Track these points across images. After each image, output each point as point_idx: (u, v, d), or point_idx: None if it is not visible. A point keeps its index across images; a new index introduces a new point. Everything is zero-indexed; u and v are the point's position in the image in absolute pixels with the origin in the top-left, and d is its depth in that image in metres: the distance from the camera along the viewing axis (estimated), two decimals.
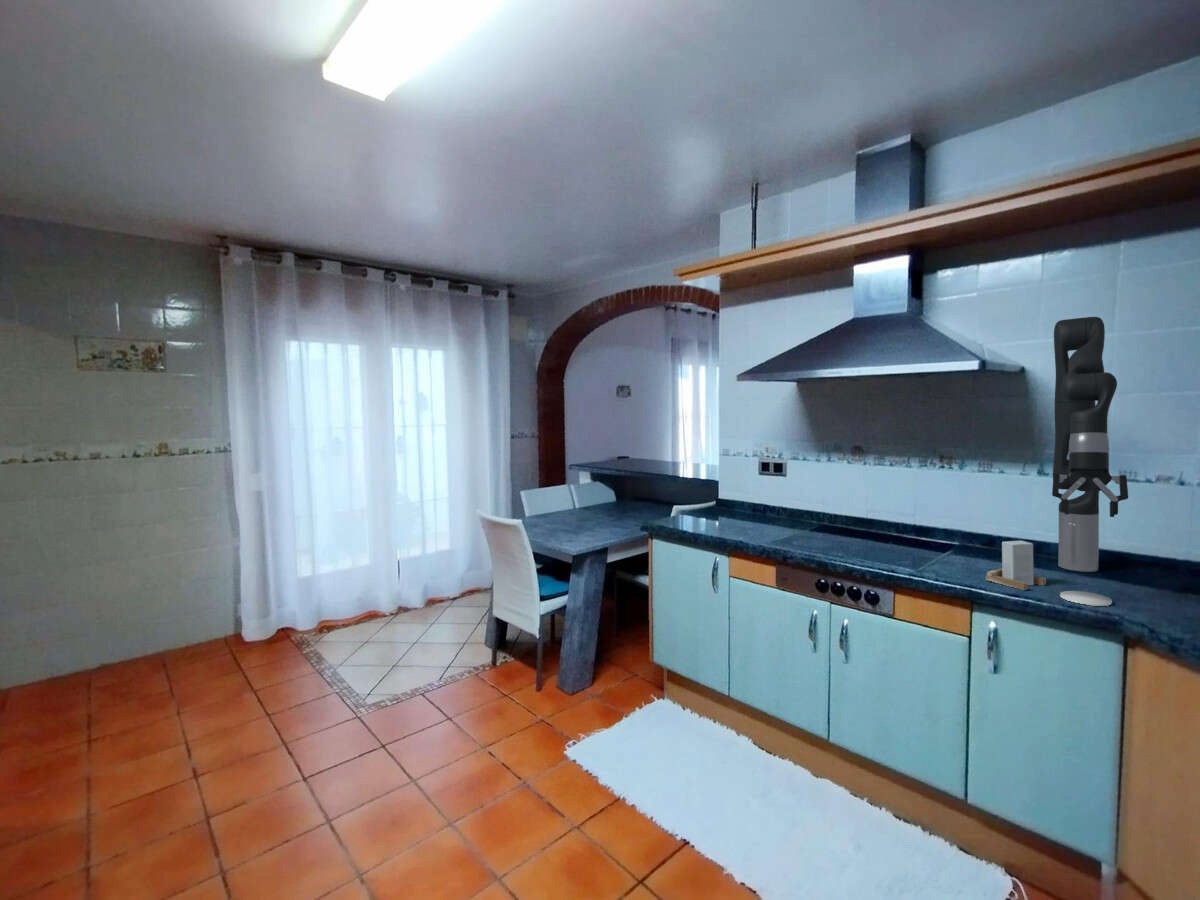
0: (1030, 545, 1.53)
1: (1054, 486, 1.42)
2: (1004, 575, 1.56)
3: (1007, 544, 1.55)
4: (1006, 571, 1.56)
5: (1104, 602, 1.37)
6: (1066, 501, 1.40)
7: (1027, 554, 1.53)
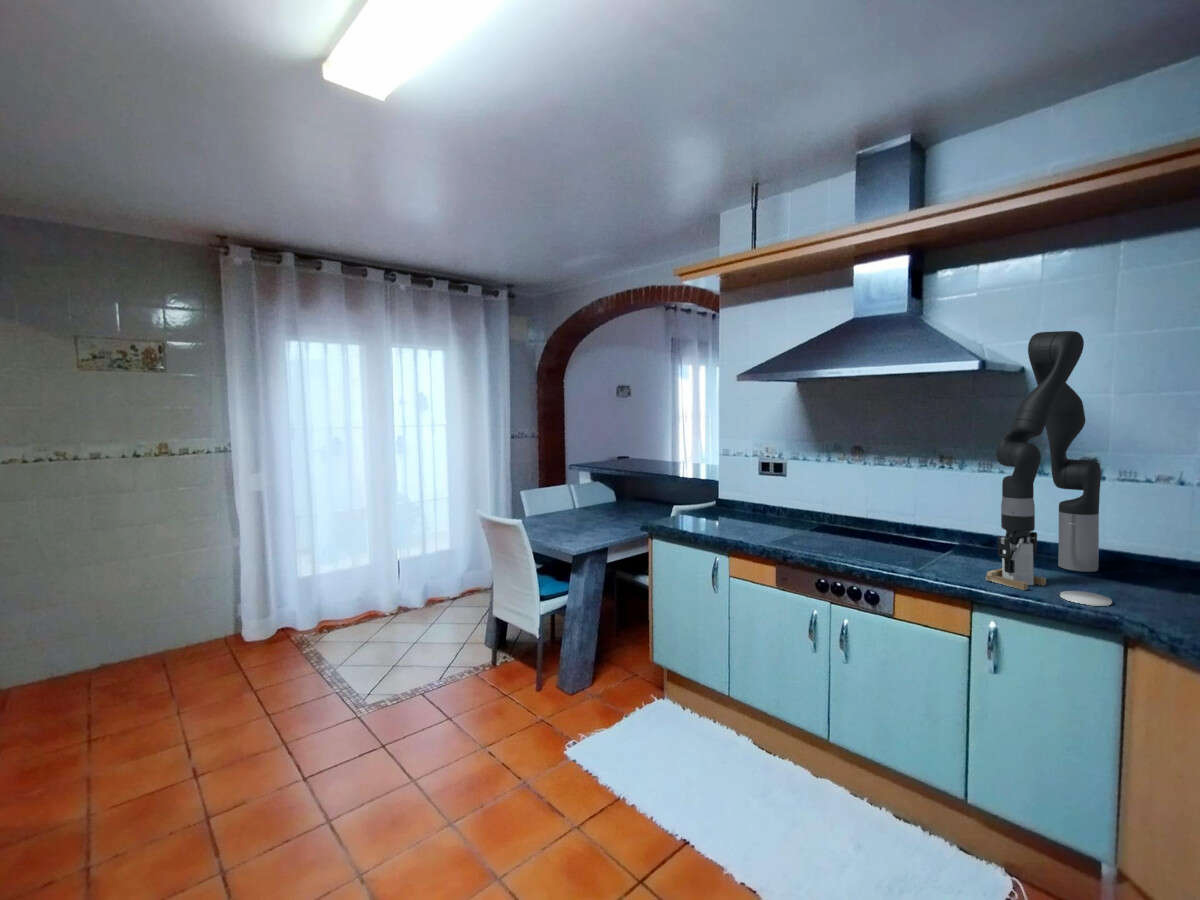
0: (1030, 545, 1.53)
1: None
2: (1004, 575, 1.56)
3: None
4: None
5: (1104, 602, 1.37)
6: None
7: (1027, 554, 1.53)
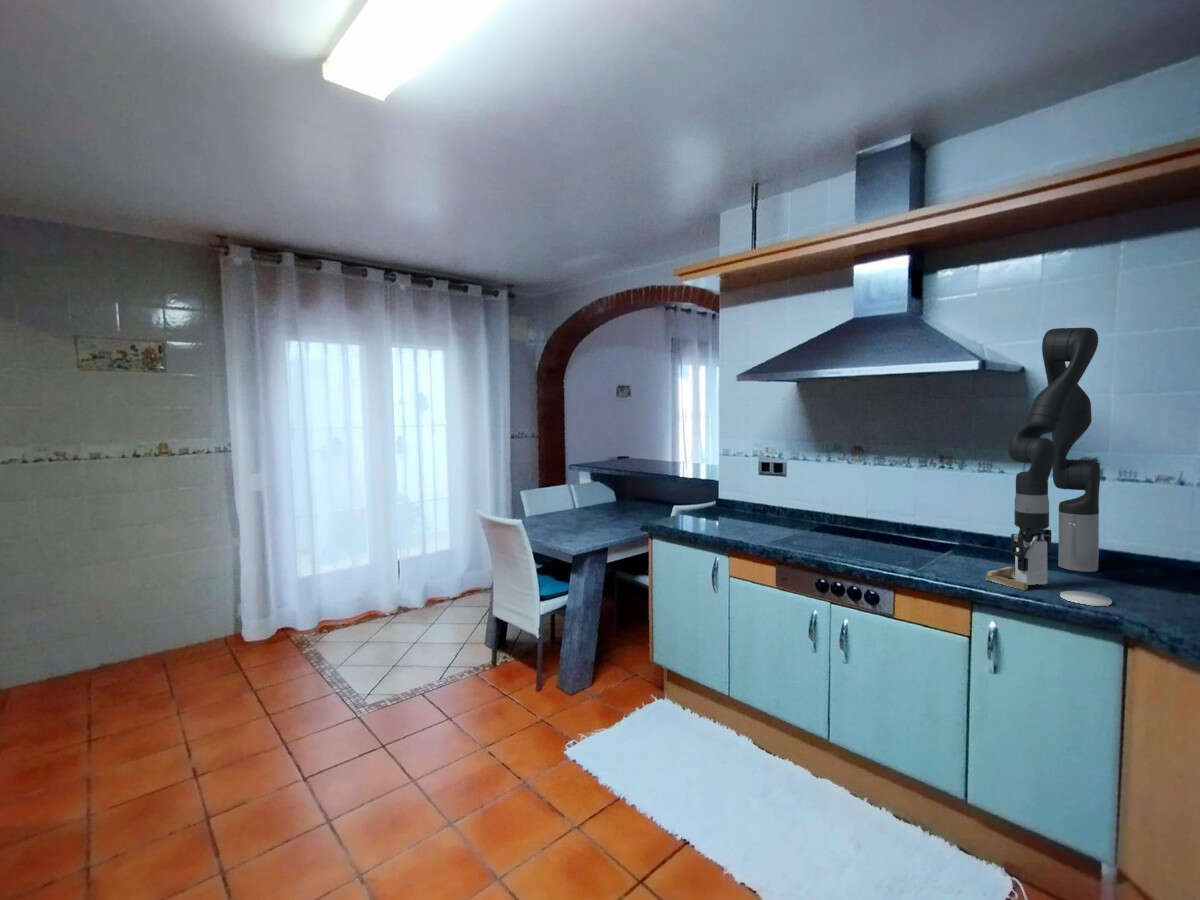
0: (1044, 543, 1.50)
1: None
2: (1017, 573, 1.53)
3: None
4: None
5: (1104, 602, 1.37)
6: None
7: (1041, 552, 1.50)
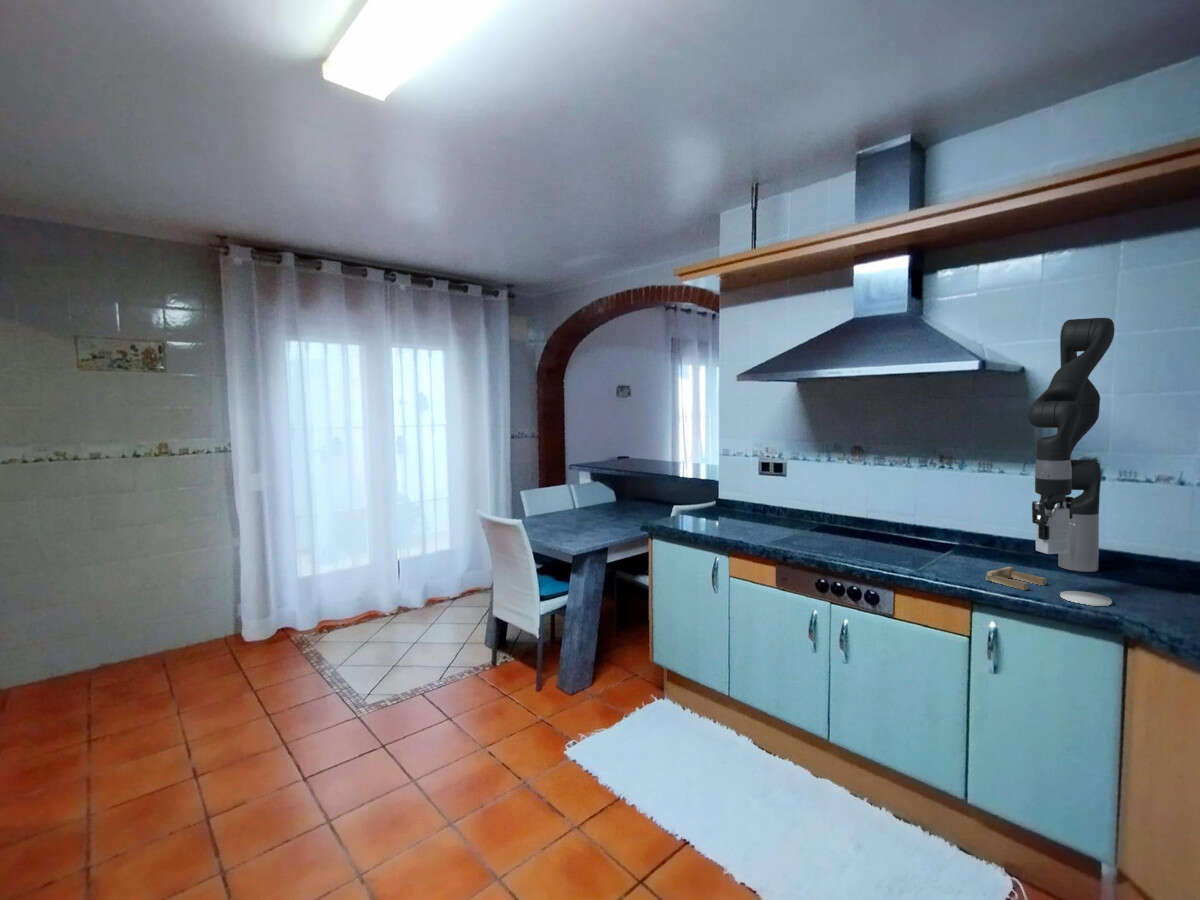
0: (1066, 510, 1.44)
1: None
2: (1038, 542, 1.48)
3: None
4: None
5: (1104, 602, 1.37)
6: None
7: (1063, 519, 1.45)
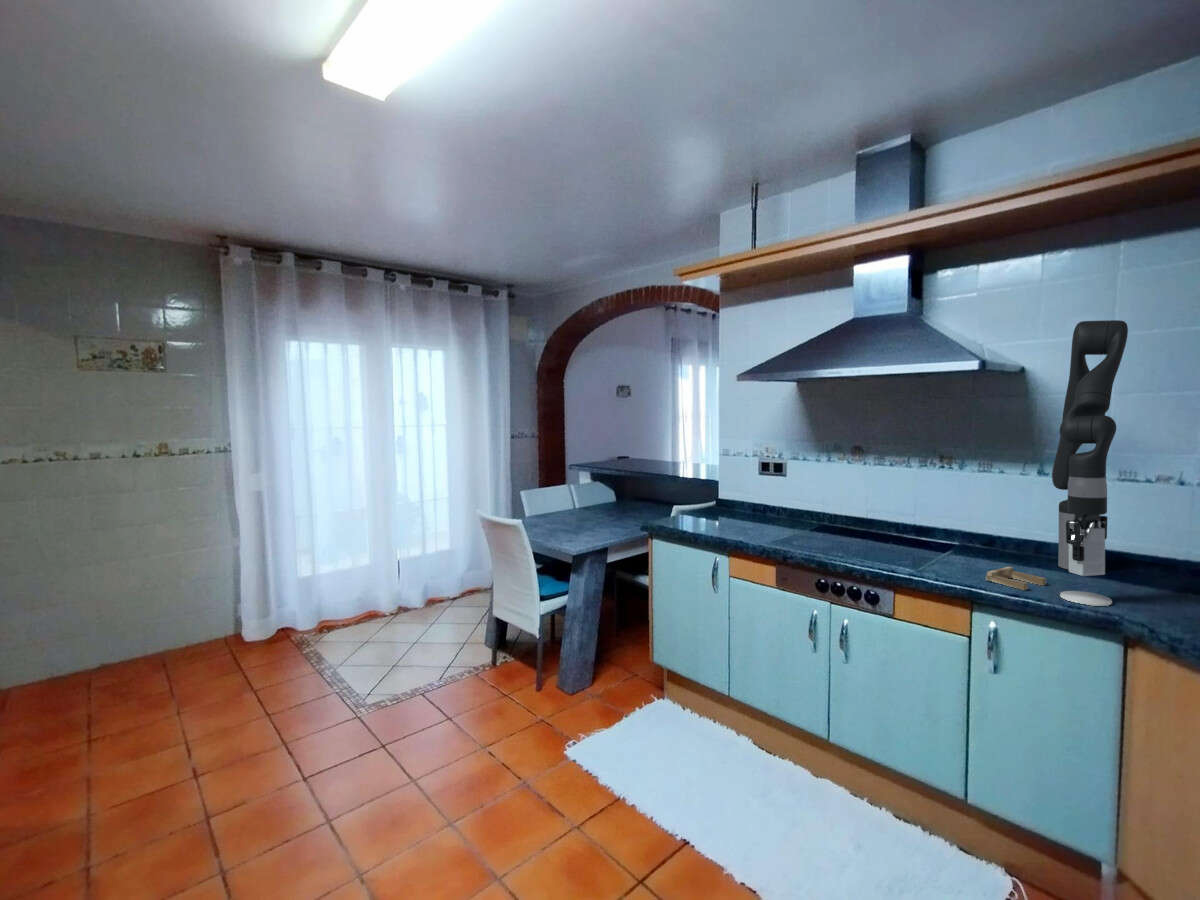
0: (1102, 530, 1.38)
1: None
2: (1071, 564, 1.41)
3: None
4: None
5: (1104, 602, 1.37)
6: None
7: (1098, 540, 1.38)
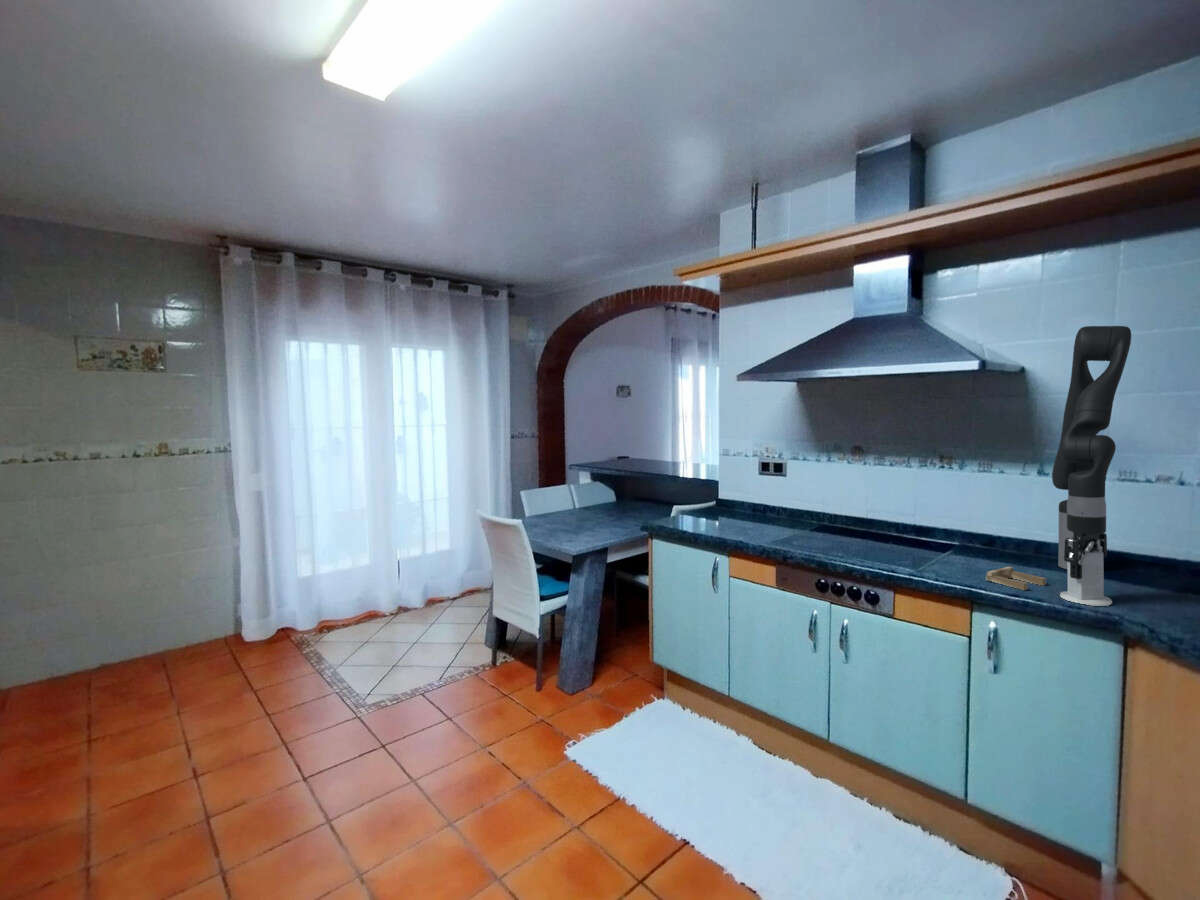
0: (1100, 554, 1.38)
1: None
2: (1070, 587, 1.42)
3: None
4: (1073, 583, 1.41)
5: (1104, 602, 1.37)
6: None
7: (1097, 564, 1.39)
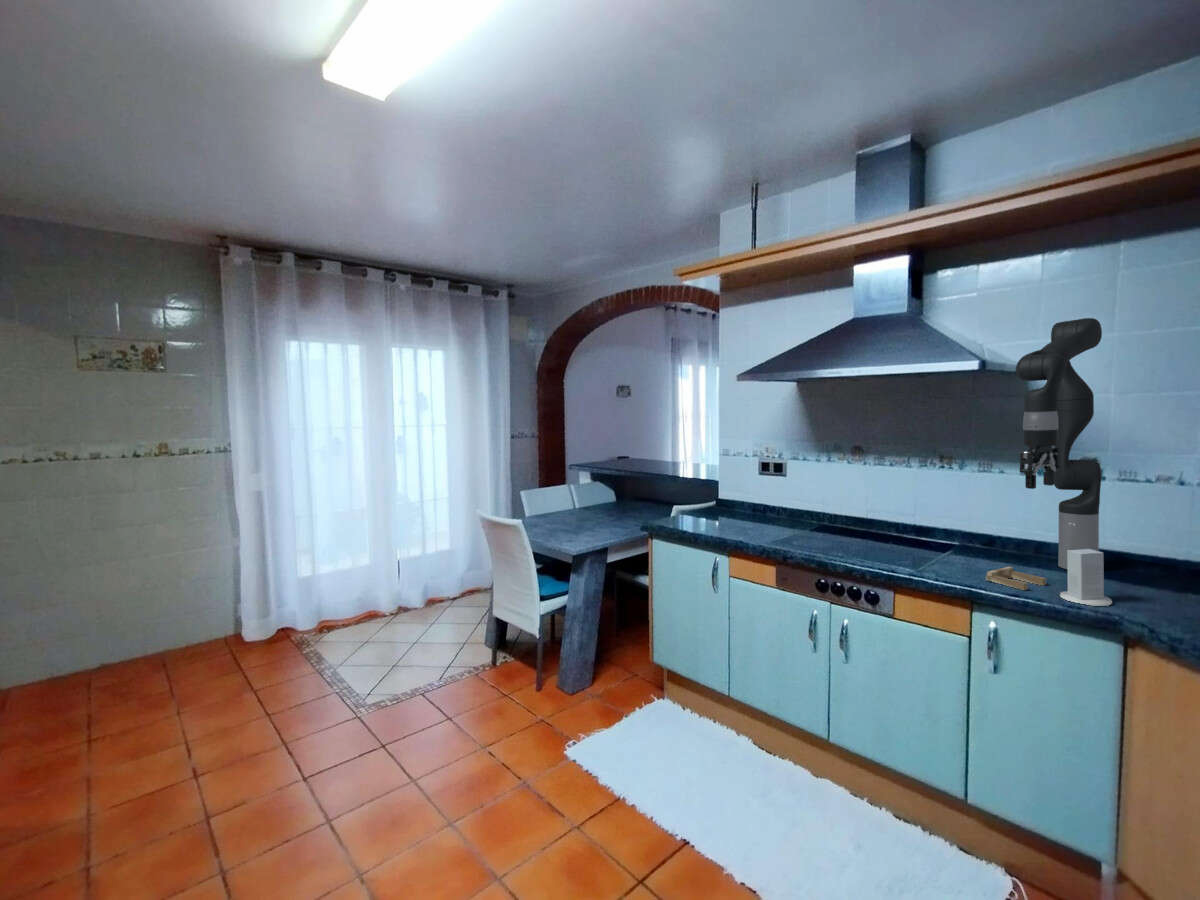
0: (1100, 554, 1.38)
1: None
2: (1070, 587, 1.42)
3: (1074, 553, 1.40)
4: (1073, 583, 1.41)
5: (1104, 602, 1.37)
6: None
7: (1097, 564, 1.39)
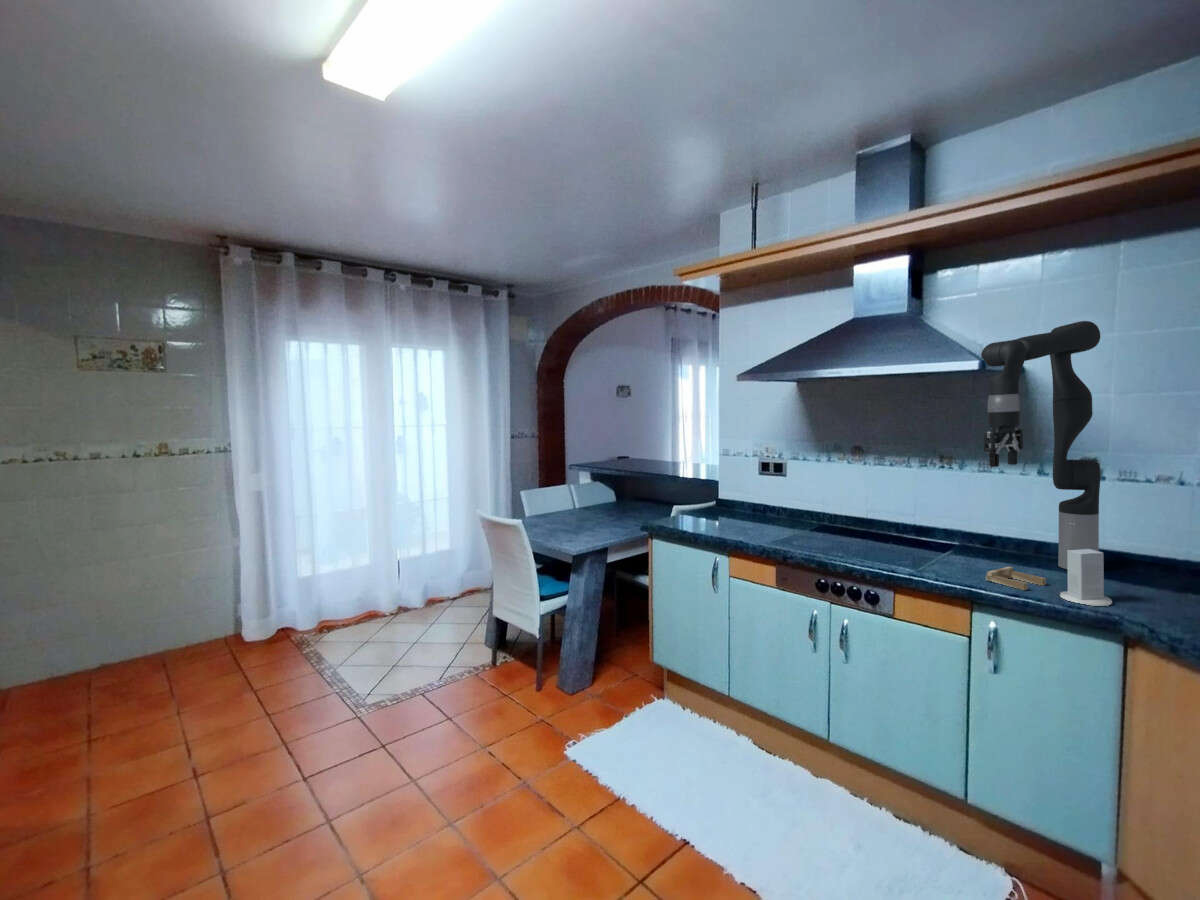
0: (1100, 554, 1.38)
1: None
2: (1070, 587, 1.42)
3: (1074, 553, 1.40)
4: (1073, 583, 1.41)
5: (1104, 602, 1.37)
6: None
7: (1097, 564, 1.39)
